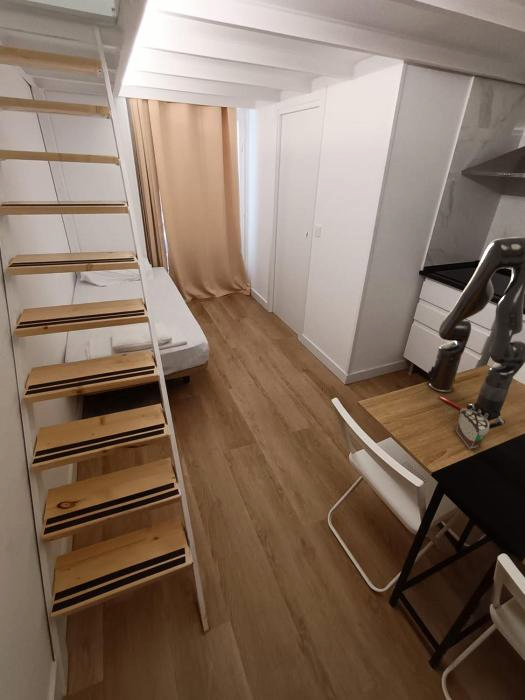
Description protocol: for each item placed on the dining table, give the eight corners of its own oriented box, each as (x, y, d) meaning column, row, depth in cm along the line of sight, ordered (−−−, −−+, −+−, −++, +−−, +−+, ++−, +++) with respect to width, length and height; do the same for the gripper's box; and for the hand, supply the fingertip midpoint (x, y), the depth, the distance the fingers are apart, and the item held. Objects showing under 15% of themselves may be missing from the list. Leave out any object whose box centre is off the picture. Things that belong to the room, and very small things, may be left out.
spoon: (436, 399, 144) (437, 397, 143) (443, 396, 146) (443, 394, 145) (468, 417, 133) (469, 415, 132) (475, 414, 134) (475, 412, 134)
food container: (490, 452, 115) (499, 430, 111) (472, 452, 115) (480, 430, 111) (470, 428, 126) (477, 407, 121) (454, 428, 126) (460, 407, 121)
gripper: (519, 400, 111) (502, 440, 119) (479, 382, 121) (466, 419, 129) (507, 407, 108) (490, 447, 116) (467, 388, 118) (454, 426, 126)
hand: (478, 432), depth 122 cm, fingers closed
